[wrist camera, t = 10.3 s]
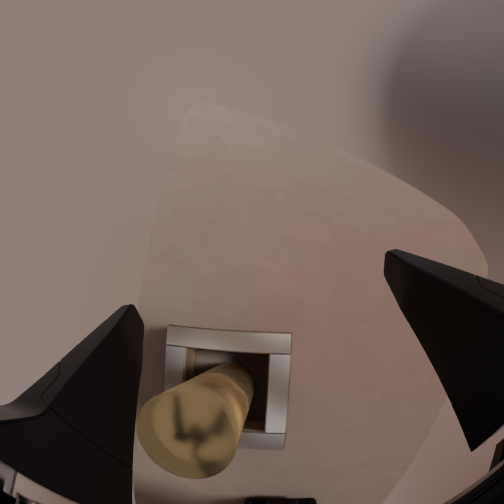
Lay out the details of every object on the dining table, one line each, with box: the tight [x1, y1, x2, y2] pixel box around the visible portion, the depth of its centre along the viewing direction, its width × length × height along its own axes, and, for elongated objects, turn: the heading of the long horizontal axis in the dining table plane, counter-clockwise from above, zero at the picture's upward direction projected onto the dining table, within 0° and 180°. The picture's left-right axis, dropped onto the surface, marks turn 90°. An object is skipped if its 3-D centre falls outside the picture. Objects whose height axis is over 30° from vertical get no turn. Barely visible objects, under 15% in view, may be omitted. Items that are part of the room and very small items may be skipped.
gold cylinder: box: [137, 363, 255, 479], centre depth 14 cm, size 4×4×12 cm
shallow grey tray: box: [164, 325, 292, 450], centre depth 19 cm, size 9×9×3 cm
